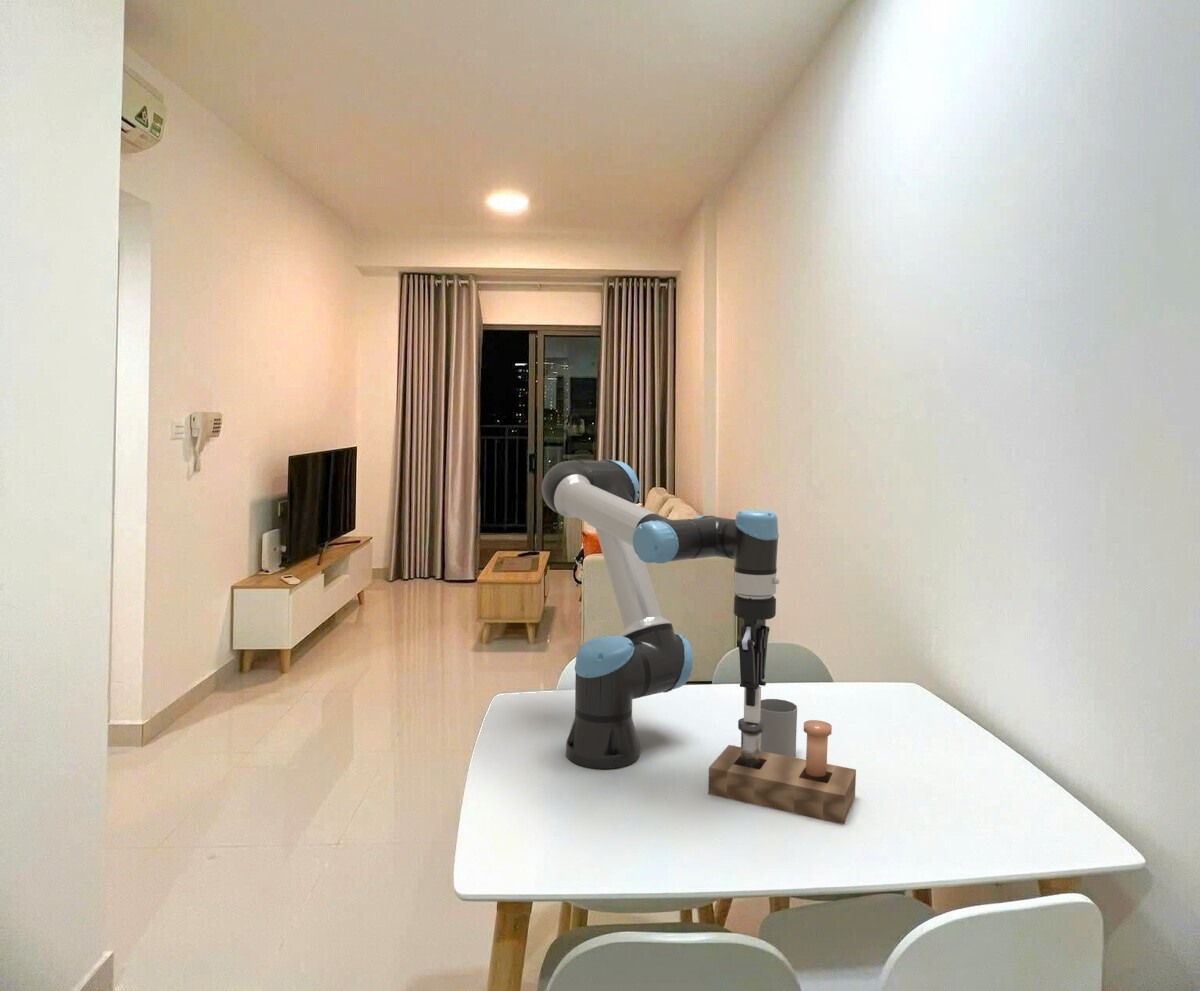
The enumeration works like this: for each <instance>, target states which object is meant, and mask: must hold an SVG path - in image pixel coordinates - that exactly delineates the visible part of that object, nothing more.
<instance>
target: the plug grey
mask: <svg viewBox="0 0 1200 991" xmlns="http://www.w3.org/2000/svg"><path fill="white" fill-rule="evenodd" d="M737 723H738V725H737V728H738V730H739V731H740V747H741V760H740V766H745V767H749V768H754V769H759V770H760V752H761V732H763V731H764V729H765V723H764V721H762V720H760V722H759V723H758V724H757V723H751V722H746V721H744V717H741V718H740V719H738V721H737Z"/></svg>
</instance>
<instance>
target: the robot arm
mask: <svg viewBox="0 0 1200 991" xmlns="http://www.w3.org/2000/svg"><path fill="white" fill-rule="evenodd" d="M638 492H640V484H639V480H638V476H637V475H636V473H635V471H634V470H633V468H631V467H630V465H628V464H627V463H625V462H623V461H619V460H613V459H602V460H565V461H561V462H558V463H557V464H555V465H553V466H552V467H551V468H550V469H549V470H548V471H547V472H546V473H545V475H544V477H543V480H542V482H541V495H542V499H543V501H544V503H545V504H546V505H547V506H548V507H549V509H551V510H552V511H553V512H555V513H557V514H559V515H560V516H563V517H565V518H569V519H571V518H577V519H579V520H581V521H583V522H585V523H586V524H587V525H589V526H591V527H593V528H594V529H595V532H596V536H597V539H598V542H599V546H600V549H601V553H602V556H603V560H604V562H605V567H606V569H607V573H608V576H609V580H610V583H611V586H612V590H613V594H614V597H615V600H616V604H617V608H618V612H619V614H620V617H621V622H622V624H623V631H622V633H621V635H610V636H607V635H605V636H598V637H594V638H591V639H588V640H586V641H585V642H583V643H581V645H579V647H578V648H577V651H576V656H575V665H574V671H575V686H574V687H575V692H574V694H575V696H574V697H575V698H574V700H575V701H574V703H575V705H574V706H575V708H574V710H575V712H574V719H573V722H572V725H571V728H570V731H569V734H568V737H567V740H566V743H565V744H566V746H565V756H566V757H567V759H569V760H570V762H572V763H574V764H576V765H579V766H581V767H585V768H592V769H599V770H601V769H602V770H604V769H605V770H607V769H617V768H623V767H626V766H630V765H632V764H633V763H635V762H636V761H638V760H639V759H640V756H641V743H640V739H639V737H638V733H637V730H636V727H635V724H634V720H633V700H634V699H640V698H643V697H647V696H652V695H656V694H661V693H663V694H664V693H668V692H671V691H672V690H676V689H679V688H681V687H683V686H684V685H685V684H687V682H688V681H689V680H690V677H691V673H692V671H693V668H694V667H693V666H694V656H693V649H692V647H691V646H692V645H691V644H690V642H689V641H688V639H687V638H685V636H683V635H682V634H681V633H677V632H675V630H674V628H673V625H672V624H673V623H672V622H671V621H670V620H668V619H665V618H664V617H663V616H662V612H661V610H660V609H661V608H660V606H659V602H658V599H657V596H656V592H655V590H654V586H653V582H652V580H651V575H650V574H649V570H648V566H647V564H646V563H649V564H651V563H653V564H666V563H669V562H677V561H684V560H696V559H703V558H704V559H705V558H716V557H717V558H725V559H730V560H734V579H733V580H734V586H733V591H734V593H735V595H734V598H733V614H734V616H736V617H738V618H741V619H743V626H741V628H740V636H741V638H738V639H737V646H738V652H739V653H738V654H739V671H740V673H739V674H740V683H739V687H741V688H744V693H743V694H744V695H743V696H744V697H743V718H744V721H746V722H751V723H757V724H758V723H759V722H760V712H761V700H762V686H763V687H766V685H767V681H763V680H765V677H766V662H767V651H768V641H769V633H770V630H771V629H770V626H767V625H766V622H767V621H766V620H771V619H773V618H775V617H776V612H777V611H776V610H777V598H776V597H775V596H774V595H775V594H776V593H777V585H779V584H780V579H779V578H777V571H778V570H777V560H778V559H777V558H778V543H779V536H780V535H779V526H778V524H779V523H778V516H777V514H776V513H775V512H774V511H770V510H765V509H764V510H759V509H743V510H738V511H737V513H736V516H735V519H734V518H733V519H732V518H727V517H720V516H719V517H718V516H715V515H698V516H695V517H694V518H684V519H670V518H667V517H665V516H662V515H660V514H658V513H655V512H653V511H651V510H649V509H647V508H644V507H642V506H641V505H638V504H637V502H638V500H639V497H640V495H639V493H638Z"/></svg>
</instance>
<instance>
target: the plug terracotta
mask: <svg viewBox="0 0 1200 991" xmlns="http://www.w3.org/2000/svg"><path fill="white" fill-rule="evenodd" d="M832 727H833V725H832V724H831V723H829V722H826V721H823V720H819V719H811V720H805V721H804V722H803V732H804V733H805V734H806V747H805V748H806V751H805V760H806V773H807V774H809V775H811V776H816V777H822V776H825V775H826V774H827V764H828V744H829V743H828V742H829V740H828V739H829V738H828V737H829V736H831V735H832V730H833V729H832Z"/></svg>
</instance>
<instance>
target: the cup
mask: <svg viewBox="0 0 1200 991" xmlns="http://www.w3.org/2000/svg"><path fill="white" fill-rule="evenodd" d="M760 720H762V721H764V723H765V729H764V731H763V732H761V751H763V752H768V753H773V754H779V755H784V756H789V757H794V758H796V756H797V753H796V752H797V731H798V730H797V728H798V727H797V724H798V706H797V705H796V703H794V702H793V701H788V700H786V699H778V698H764V699H761V712H760Z"/></svg>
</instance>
